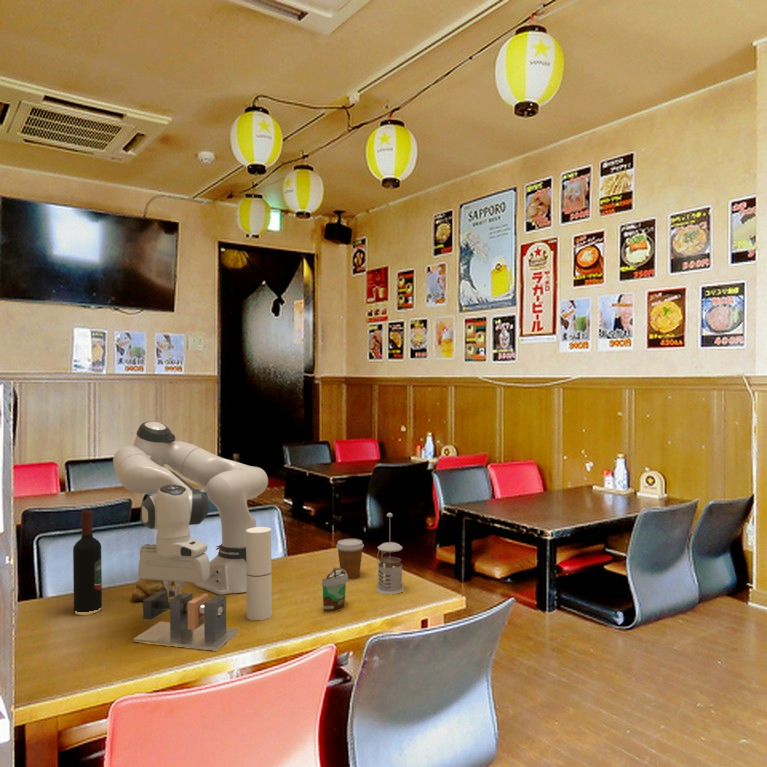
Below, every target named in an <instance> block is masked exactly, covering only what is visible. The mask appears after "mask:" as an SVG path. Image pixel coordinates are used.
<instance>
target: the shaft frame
mask: <svg viewBox="0 0 767 767" xmlns="http://www.w3.org/2000/svg"><path fill="white" fill-rule="evenodd" d="M193 595H194V594H193V593H191V592H180V594H179V595H178V596H176V597H172V598H171V599H170V600H169V602H170V610H169V622H168V621H159V622H157V623H155V624H154V625H153V626H151V627H149V628H147V630H145V631H143V632H141V633H140V634H139V635H137V636H135V637H134V638H133V639H132V641H141V642H150V643H159V644H168V645H177V646H182V647H189V648H197V649H205V650H215V651H216V650H218V649H219V648H220V647H221V646H222V647H224V646H225V645H226V644H227V643H228V642H229V641H231V640H232V639H233V638H234V637H236V636H237V635H238V634H239V630H240V629H239V628H230V627H229V628H228V627H227V596H226V595H219V594H216V595H214V596H212V597H211V598H209V600H208V601H207V602H205V603H204V624H202V625H201V626H200V627H198V628H197V629H196V630H189V629H188V612H184V611H183V605H184V604H188V602H189V601H191V600H192V599H194V598H193V597H194V596H193ZM218 607H223V613H222V614H221V615H218ZM237 633H238V634H237ZM236 634H237V635H236ZM233 636H234V637H233ZM232 637H233V638H232ZM231 638H232V639H231ZM230 639H231V640H230ZM226 642H227V643H226ZM225 643H226V644H225ZM224 644H225V645H224ZM223 645H224V646H223ZM222 647H221V648H222ZM221 648H220V649H221ZM220 649H219V650H220ZM205 650H204V651H205ZM219 650H218V651H219ZM215 651H214V652H215ZM216 652H217V651H216Z"/></svg>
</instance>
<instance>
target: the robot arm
mask: <svg viewBox="0 0 767 767" xmlns="http://www.w3.org/2000/svg"><path fill="white" fill-rule="evenodd" d="M135 434H136V437H135V439H134V442H133V444H132V445H125V446H122V447H120V448H119V449H118V450H117V451H116V452H115V453H114V454H113V457H112V458H113V459H112V463H113V470H114V472H115V474H116V475H115V476H116V477H117V479H118V481H119V482H120V484H121V486H123V488H125V489H126V490H127V491H129V492H131V493H133V494H138V495H139V494H141V495H143V494H153V495H149V496H147V497H146V498H145V499H144V500H143V502H142V503H141V504H140V522H141V523H142V524H143V525H144V526H145V527H146V528H148V529H150V530H156V531H157V532H156V534H155V535H156V536H155V541H156V542H155V544H150V543H149V544H148V543H147V544H144V545H142V546H141V547H140V548H139V560H138V572H137V575H138V577H139V579H140V578H141V579H151V580H163V585H164V586H165V588H166V590H167V596H168V597H169V598H174V597H176V596H178V595H179V594H181V590H182V588H183V586H184V584H185V583H186V584H187V583H189V584H194V586H195V587H197V588H200V589H203V590H205V591H209V592H211V593H213V594H216V595H218V596H223V595H227V594H228V595H229V594H238V593H247V579H246V530H247V529H249V528H254V527H257V523H256V522H257V521H256V518H255V516H253V515H252V514H251V512H250V511H249V508H248V500H252V499H255V498H257V497H258V496H260V495H261V494H263V493H264V492H265V490H267V488H268V486H269V478H268V475H267V473H266V471H265V470H264V469H262V468H261V467H259V466H251V465H248V464H244V463H241V462H239V461H235V460H231V459H227V458H224V457H222V456H218V455H216V454H215V453H212V452H210V451H208V450H206V449H204V448H202V447H200V446H197V445H195V444H192V443H189V442H185V441H182V440H181V441H180V440H178V441H176V439H177V438H176V436H175V434H174V433H172V430H170V428H169V427H168V426H167V425H165V424H164V423H161V422H158V421H150V420H149V421H144V422H143V423H141V424H140V425H139V427H138V429H137V431H136V433H135ZM165 465H167V466H169V467H170V468H171V469H172V470H173V471H172V470H170V469H168V468H165V467H164V466H165ZM174 471H175V472H174ZM178 474H179V475H178ZM180 475H181V476H182V477H184V478H186V479H187V480H190V481H192V482H194V483H196V484H198V485H200V486H201V487H204V488H206V494H205V493H204V492H203V491H202V490H200V489H198V488H194V487H193V486H192V485H191V484H189V483H188V482H187V481H186V480H184V478H182V477H181V476H180ZM206 495H207V496H206ZM209 501H210V502H211V503H212V504H213V505H214V506H215V508H216V509H217V512H218V514H219V518H220V524H221V525H220V526H221V543H220V545H216V546H215V550H216V551H217V550H218V552H217V555H216V556H215V557H213V559H211V560H210V559H209V556H208V554H207V553H206V552H207V551H208V545H207V544H206V543H205V542H203V541H201V540H198V539H196V538H194V537H192V536H191V531H190V526H192V525H195V526H197V525H200V524H201V523H202V522H203V521H204V520H205V519H206V517H207V516H208V514H209V511H210V504H209V503H210V502H209ZM172 581H174V585H175V586H176V588H174V587H173V586H172V585H171V582H172Z"/></svg>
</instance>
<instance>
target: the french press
mask: <svg viewBox="0 0 767 767" xmlns="http://www.w3.org/2000/svg"><path fill="white" fill-rule="evenodd" d="M386 517H388V518H389V521H388V522H389V523H388V524H389V532H388V533H389V534H388V536H389V539H391V518H393V513H391V512H388V513H387V514H386ZM377 549H378V552H377V565H378V567H377V568H378V570H377V571H378V574H377V575H378V578H377V579H378V586H377V587H376V588H375V590H376V591H377V592H376V593H378V592H379V593H378V594H380V593H382V594H381V595H385V594H395V595H397V594H396V593H400V592H402V591H404V588H405V587H404V586H403V563H401V561H402V559H401V558H399V557H395V556H384V557H383V555H384V554H386V553H395V552H400V551H402V549H403V546H402V545H400V544H399V543H397V542H393V541H389V542H383V543H381V544H380V545H379V546H377ZM380 551H381V558H379V553H380ZM394 566H395V567H394ZM404 592H405V591H404ZM400 594H401V593H400Z"/></svg>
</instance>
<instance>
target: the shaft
mask: <svg viewBox="0 0 767 767" xmlns="http://www.w3.org/2000/svg"><path fill="white" fill-rule="evenodd" d="M169 599H170V597H168V596H167V591H162V590H161V591H159V592H157V593H155V594H153V595H152V596H150V597H148V598H146V599H145V600H143V601H142V620H146V621H152V620H154V619H155V618H157V617H159V616H160V615H162V614H164V613H165V612H166V611H170V600H169ZM183 611H184V612H188V604H184V605H183ZM198 613H204V605H201V606H200V607H198ZM222 613H223V607H218V615H221V614H222Z"/></svg>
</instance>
